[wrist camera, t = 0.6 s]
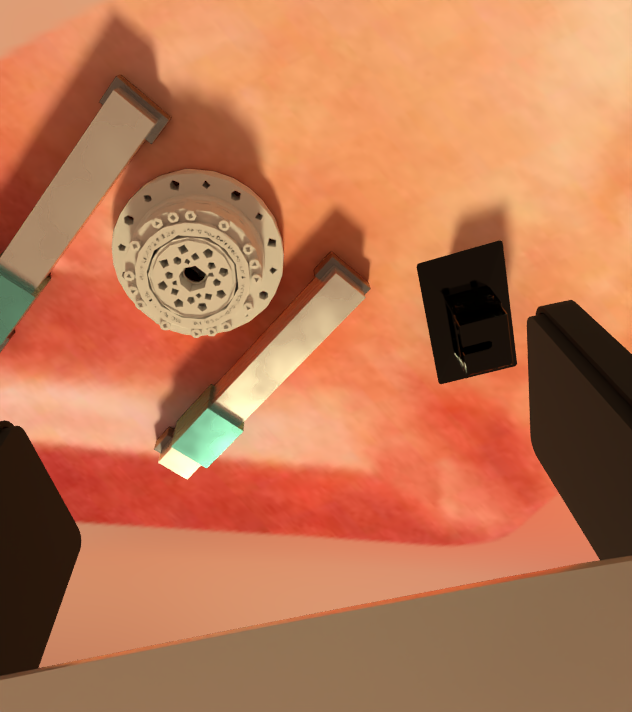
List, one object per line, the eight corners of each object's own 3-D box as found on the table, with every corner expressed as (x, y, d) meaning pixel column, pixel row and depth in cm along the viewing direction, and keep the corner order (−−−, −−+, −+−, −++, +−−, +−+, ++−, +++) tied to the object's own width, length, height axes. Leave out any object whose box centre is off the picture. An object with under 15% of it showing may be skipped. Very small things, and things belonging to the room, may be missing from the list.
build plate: (397, 240, 38) (411, 267, 34) (513, 209, 37) (541, 232, 33) (429, 400, 44) (445, 438, 40) (529, 375, 43) (555, 412, 39)
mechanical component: (260, 149, 34) (90, 188, 35) (258, 166, 30) (68, 210, 31) (299, 306, 39) (150, 338, 40) (301, 338, 35) (137, 373, 36)
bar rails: (120, 74, 32) (107, 79, 29) (368, 282, 38) (375, 301, 36) (-45, 320, 38) (-68, 342, 35) (193, 462, 44) (188, 489, 42)
